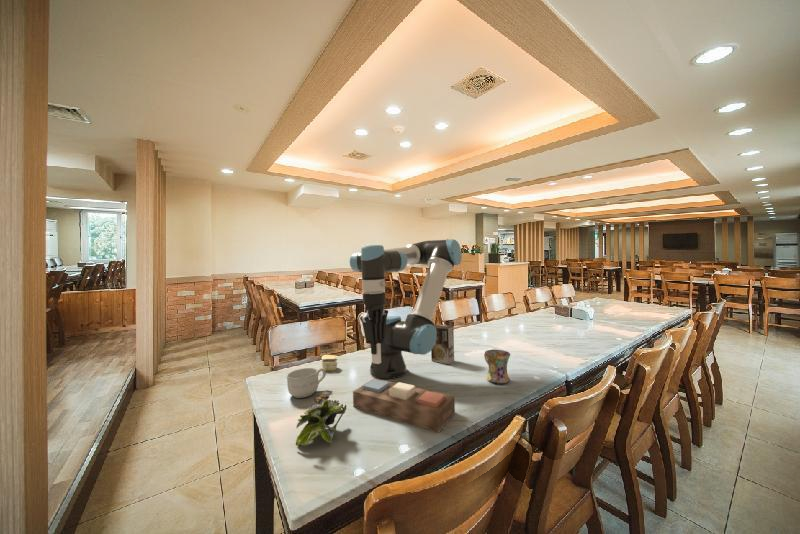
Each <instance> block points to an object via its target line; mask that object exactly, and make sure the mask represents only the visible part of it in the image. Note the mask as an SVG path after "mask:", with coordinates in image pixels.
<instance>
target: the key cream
mask: <svg viewBox="0 0 800 534" xmlns="http://www.w3.org/2000/svg"><path fill="white" fill-rule="evenodd" d="M396 383H397V384H396V385H394V386H393V387H391V388H390V389H389V396H391V397H395V398H399V399H403V400H407V399H409V398H410V397H411V396H412V395H413V394H414V393H415V387H416V385H414V384H409V383H404V382H399V381H398V382H396Z"/></svg>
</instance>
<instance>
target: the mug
mask: <svg viewBox="0 0 800 534" xmlns="http://www.w3.org/2000/svg"><path fill="white" fill-rule="evenodd" d="M483 356H484V360H485V362H486V364H487V365H488V369H487V374H486V376H485V377H486V378H485V379H486V380H487V381H489V382H490V383H495V384H506V383H508V382H509V381H510V377H509V374H508V363H509V359H510V357H511V352H509V351H507V350H503V349H487V350H486V351H484V355H483Z"/></svg>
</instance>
